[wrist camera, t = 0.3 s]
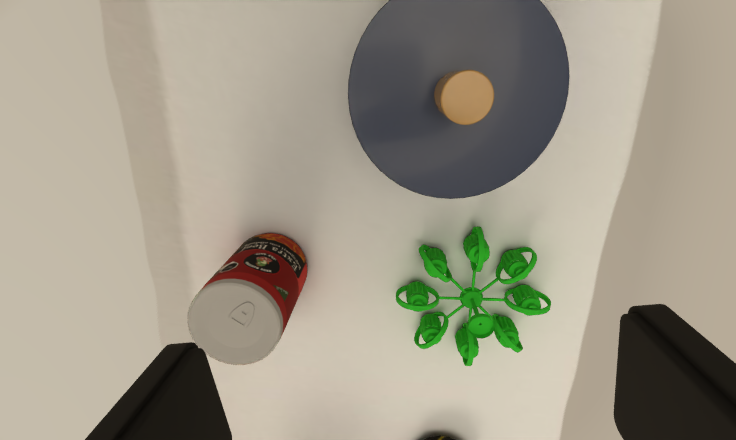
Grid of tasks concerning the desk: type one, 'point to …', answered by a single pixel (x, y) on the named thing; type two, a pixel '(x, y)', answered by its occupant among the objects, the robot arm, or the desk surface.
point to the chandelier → (474, 298)
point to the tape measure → (439, 438)
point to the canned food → (249, 300)
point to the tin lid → (458, 92)
